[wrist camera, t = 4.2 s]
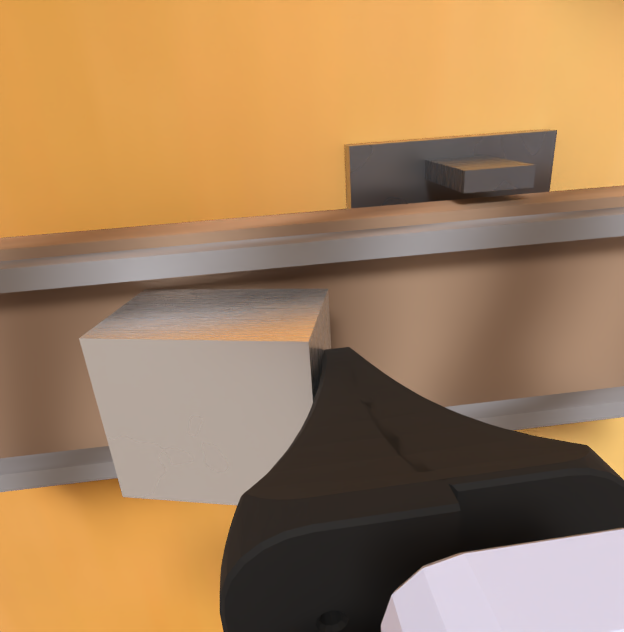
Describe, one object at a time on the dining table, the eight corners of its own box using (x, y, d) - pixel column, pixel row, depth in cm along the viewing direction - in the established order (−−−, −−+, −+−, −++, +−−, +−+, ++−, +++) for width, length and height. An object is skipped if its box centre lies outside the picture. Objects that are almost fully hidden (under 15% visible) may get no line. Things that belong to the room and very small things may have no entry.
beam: (680, 180, 15) (794, 199, 12) (635, 381, 18) (717, 439, 15) (-111, 247, 14) (-224, 289, 10) (-24, 457, 16) (-92, 541, 13)
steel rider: (327, 288, 12) (308, 341, 10) (335, 432, 14) (321, 511, 11) (144, 289, 13) (79, 338, 10) (172, 424, 15) (123, 496, 12)
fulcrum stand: (543, 129, 17) (625, 134, 13) (513, 387, 21) (570, 446, 17) (344, 144, 16) (373, 154, 13) (353, 407, 20) (377, 473, 17)
